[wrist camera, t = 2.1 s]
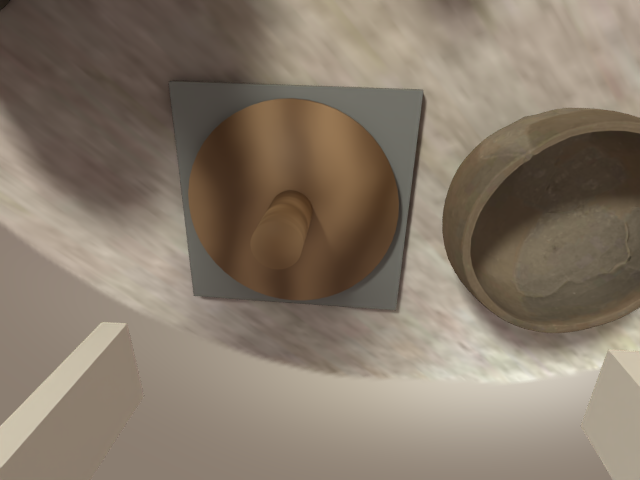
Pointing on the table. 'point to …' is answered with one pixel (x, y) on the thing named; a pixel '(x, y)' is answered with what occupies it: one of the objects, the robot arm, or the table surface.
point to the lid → (293, 199)
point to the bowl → (550, 220)
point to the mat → (359, 103)
